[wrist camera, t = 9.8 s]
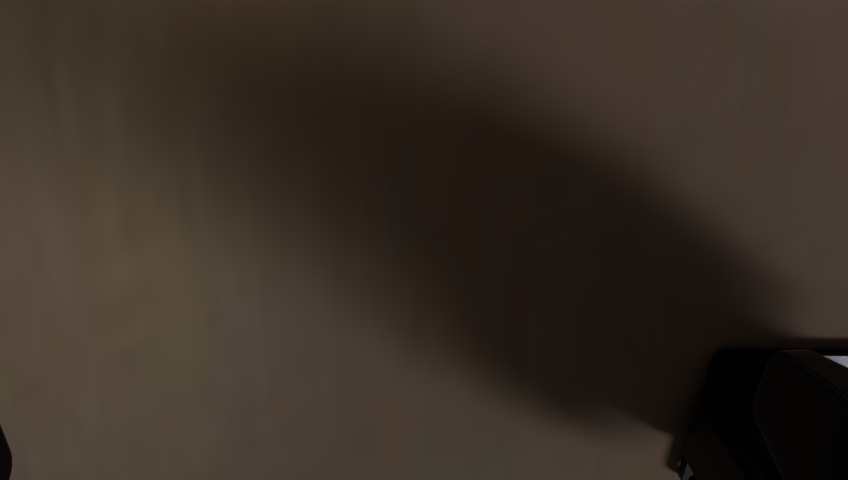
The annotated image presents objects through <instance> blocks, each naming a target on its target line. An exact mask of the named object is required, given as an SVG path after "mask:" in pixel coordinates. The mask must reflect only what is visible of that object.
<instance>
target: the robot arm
mask: <svg viewBox="0 0 848 480" xmlns="http://www.w3.org/2000/svg"><path fill="white" fill-rule="evenodd" d="M729 361H731V362H730V363H729V364H728V365H725V364H726V363H727V362H729ZM682 454H683V458H682V461H681V464H680V468H679V471H678V476H679V477H680V479H681V480H848V350H823V349H723V350H721V351H719V352H718V353H716V354H715V355H714V357H713V359H712V361H711V365H710V368H709V371H708V375H707V378H706V381H705V385H704V388H703V391H702V395H701V398H700V401H699V403H698V404H697V406H696V408H695V412H694V415H693V418H692V422H691V425H690V428H689V432H688V435H687V438H686V442H685V445H684V448H683V452H682ZM11 470H12V455H11V451H10V448H9V445H8V443H7V440H6V438H5V435H4V433H3V430H2V428H1V425H0V480H9V479H10V475H11Z"/></svg>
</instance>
